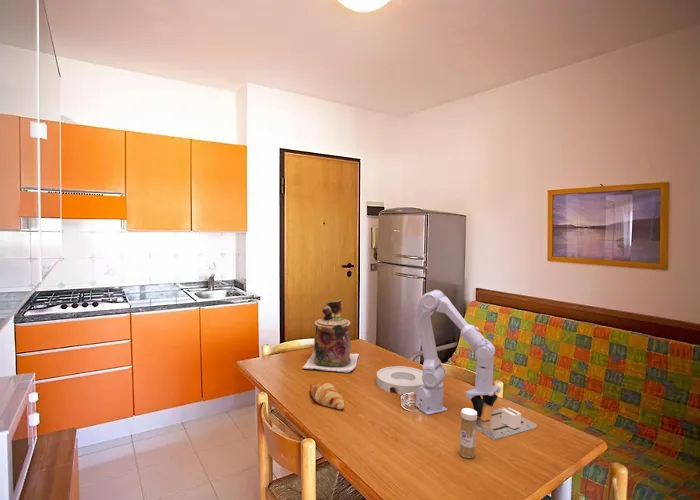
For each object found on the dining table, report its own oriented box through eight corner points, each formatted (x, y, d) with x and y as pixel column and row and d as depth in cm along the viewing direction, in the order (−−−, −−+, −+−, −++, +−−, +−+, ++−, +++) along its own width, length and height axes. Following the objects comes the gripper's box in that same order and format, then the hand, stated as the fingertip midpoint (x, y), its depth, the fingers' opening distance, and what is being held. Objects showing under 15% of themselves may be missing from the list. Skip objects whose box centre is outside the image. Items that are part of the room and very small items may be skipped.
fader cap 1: (483, 420, 135) (484, 407, 135) (473, 414, 140) (473, 401, 139) (491, 419, 137) (491, 405, 136) (480, 412, 141) (481, 399, 141)
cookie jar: (313, 354, 207) (314, 294, 205) (359, 357, 204) (361, 296, 202) (301, 370, 183) (302, 302, 181) (353, 374, 179) (355, 305, 178)
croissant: (349, 418, 145) (357, 397, 147) (330, 412, 139) (339, 390, 141) (315, 397, 161) (323, 378, 163) (297, 391, 155) (306, 372, 157)
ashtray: (389, 398, 155) (389, 388, 155) (368, 377, 177) (368, 368, 177) (440, 392, 163) (440, 383, 162) (414, 372, 185) (414, 364, 184)
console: (495, 440, 125) (495, 436, 125) (461, 419, 139) (461, 415, 139) (537, 428, 134) (538, 424, 134) (502, 409, 148) (502, 406, 148)
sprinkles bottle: (456, 455, 117) (458, 410, 116) (463, 448, 120) (465, 405, 119) (471, 461, 114) (473, 416, 113) (477, 454, 117) (479, 410, 116)
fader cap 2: (513, 428, 130) (513, 414, 130) (501, 422, 135) (501, 408, 134) (520, 426, 132) (521, 412, 132) (508, 420, 136) (509, 406, 136)
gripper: (476, 384, 131) (475, 424, 131) (508, 378, 137) (506, 416, 138) (462, 376, 137) (460, 414, 138) (492, 371, 143) (490, 407, 144)
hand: (482, 414), depth 138 cm, fingers closed on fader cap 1, 3 cm apart
